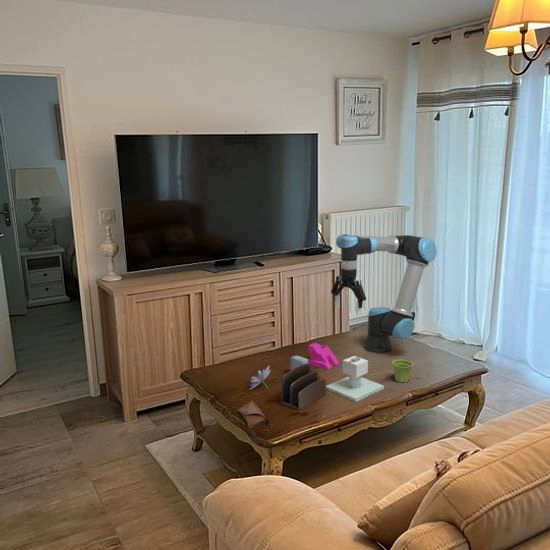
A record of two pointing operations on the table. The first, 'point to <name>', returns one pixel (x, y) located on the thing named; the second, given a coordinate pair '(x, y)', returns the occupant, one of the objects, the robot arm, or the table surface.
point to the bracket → (322, 356)
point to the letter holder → (301, 387)
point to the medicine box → (298, 361)
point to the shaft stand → (354, 386)
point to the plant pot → (402, 370)
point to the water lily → (260, 378)
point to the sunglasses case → (253, 415)
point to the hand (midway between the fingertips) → (347, 311)
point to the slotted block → (355, 367)
